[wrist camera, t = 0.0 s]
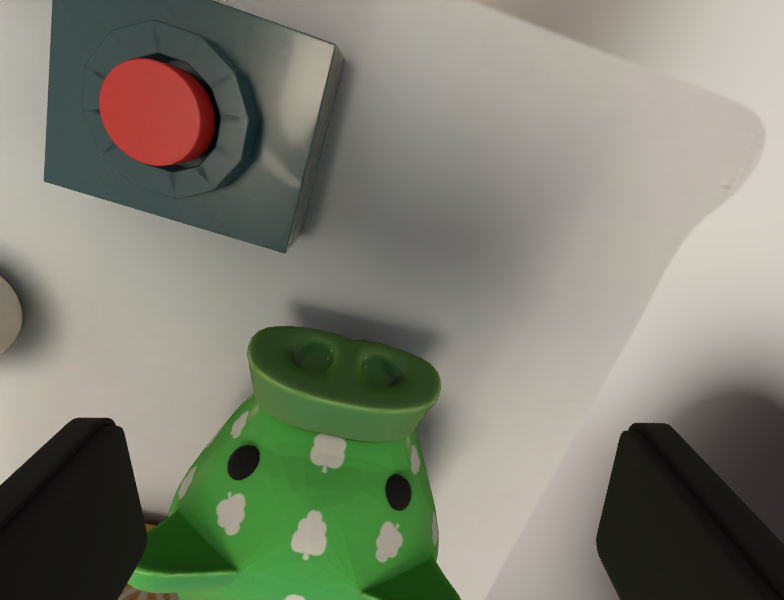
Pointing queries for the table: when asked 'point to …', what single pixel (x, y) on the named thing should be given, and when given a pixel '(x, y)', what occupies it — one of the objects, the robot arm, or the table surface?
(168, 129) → the red push button
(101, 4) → the button base
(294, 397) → the piggy bank
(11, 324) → the cup
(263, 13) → the table surface
